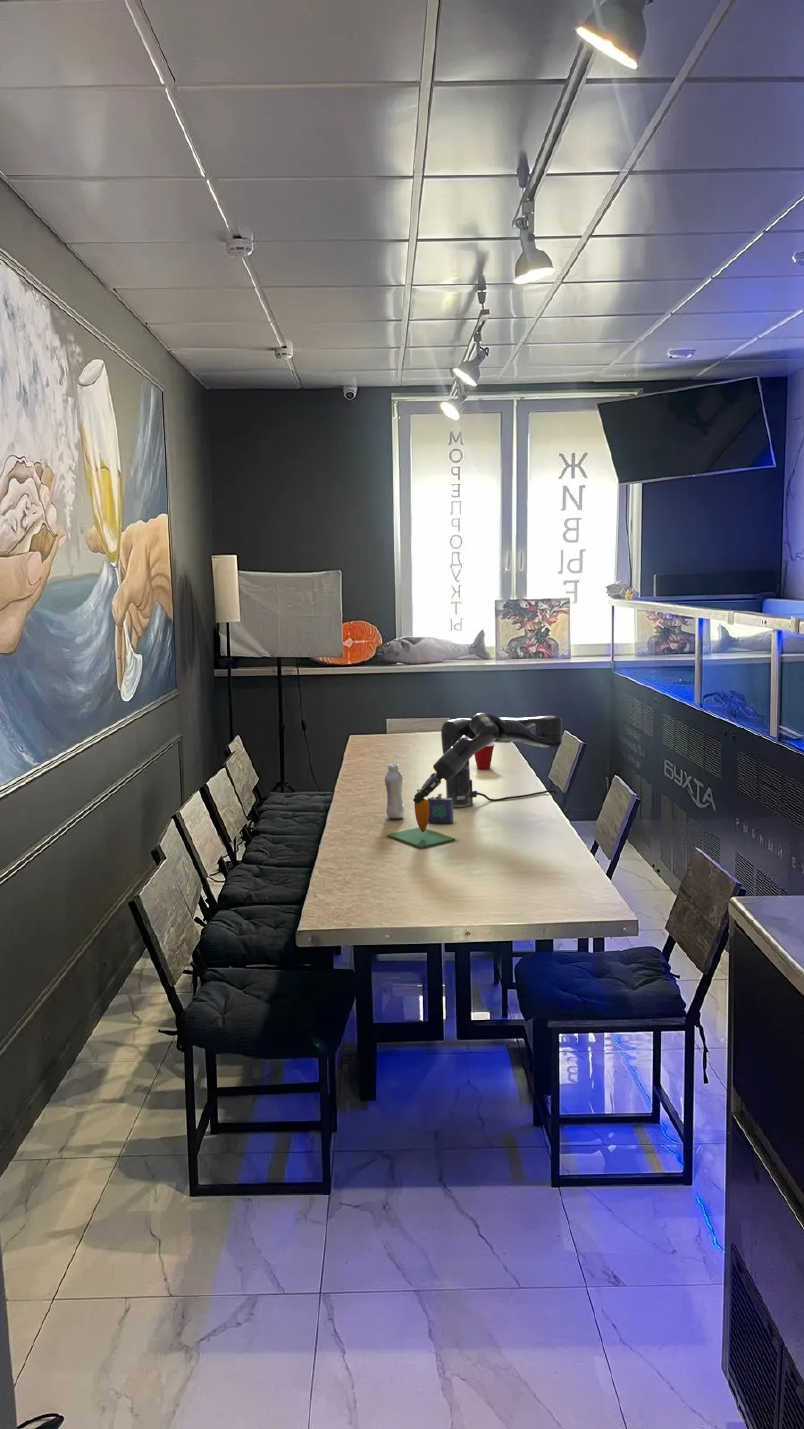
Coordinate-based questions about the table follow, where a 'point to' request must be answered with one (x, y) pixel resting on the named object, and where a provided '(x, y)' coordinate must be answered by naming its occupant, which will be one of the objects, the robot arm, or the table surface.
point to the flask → (440, 810)
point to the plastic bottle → (394, 792)
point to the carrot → (422, 813)
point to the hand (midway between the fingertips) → (415, 800)
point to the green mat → (421, 837)
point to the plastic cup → (484, 757)
